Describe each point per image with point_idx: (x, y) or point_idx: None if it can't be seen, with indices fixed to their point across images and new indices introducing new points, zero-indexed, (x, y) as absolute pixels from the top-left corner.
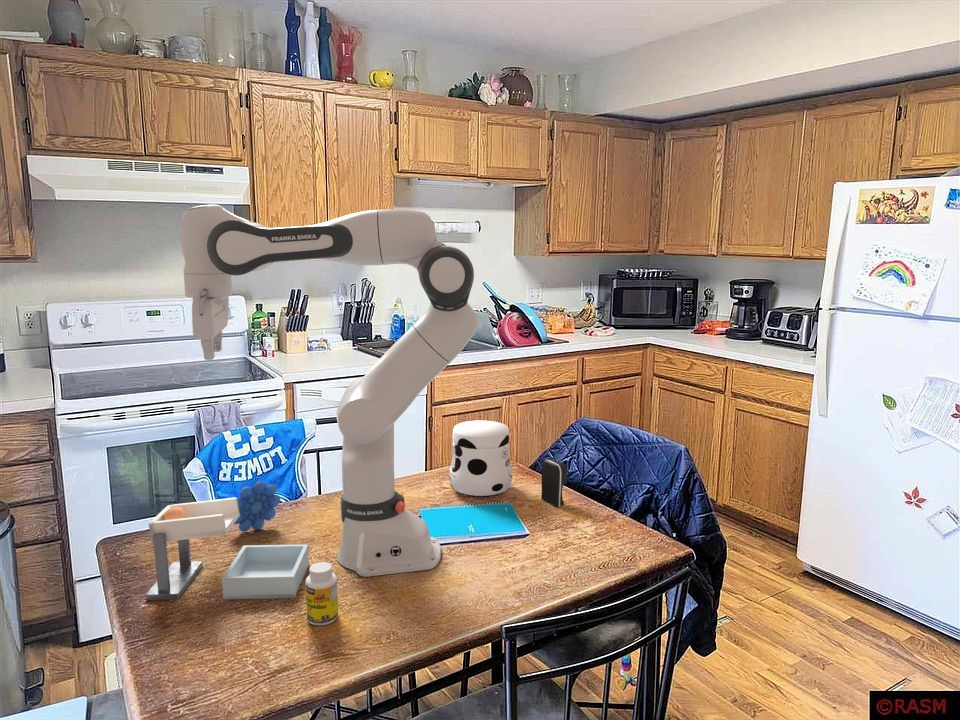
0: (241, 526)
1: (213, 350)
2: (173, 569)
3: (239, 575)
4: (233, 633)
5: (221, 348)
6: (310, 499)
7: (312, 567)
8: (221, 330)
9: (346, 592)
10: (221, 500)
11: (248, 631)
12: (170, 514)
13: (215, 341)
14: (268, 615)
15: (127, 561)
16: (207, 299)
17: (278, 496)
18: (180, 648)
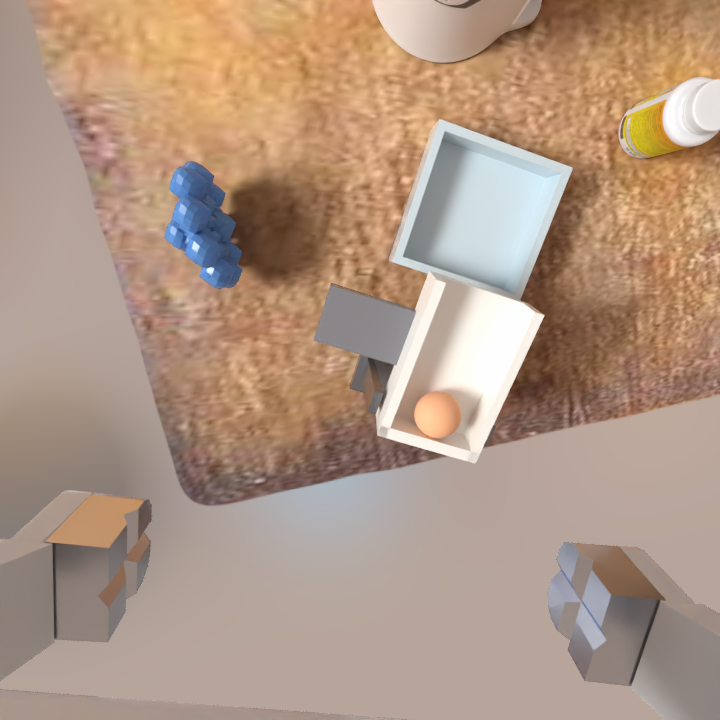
0: (236, 263)
1: (673, 600)
2: (381, 385)
3: (445, 270)
4: (616, 281)
5: (92, 499)
6: (61, 78)
7: (709, 123)
8: (289, 717)
9: (575, 69)
10: (432, 317)
11: (621, 258)
12: (457, 426)
13: (33, 617)
14: (588, 224)
15: (298, 462)
16: None
17: (193, 165)
18: (619, 356)
